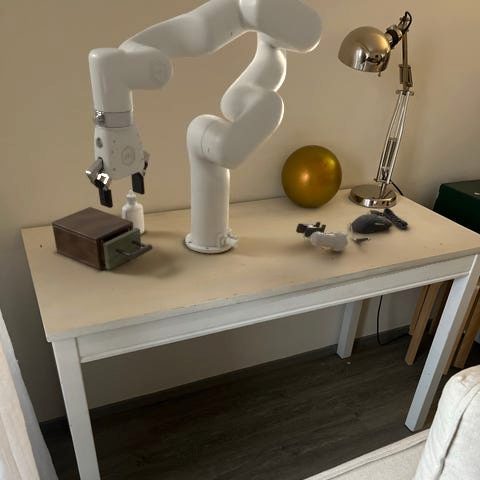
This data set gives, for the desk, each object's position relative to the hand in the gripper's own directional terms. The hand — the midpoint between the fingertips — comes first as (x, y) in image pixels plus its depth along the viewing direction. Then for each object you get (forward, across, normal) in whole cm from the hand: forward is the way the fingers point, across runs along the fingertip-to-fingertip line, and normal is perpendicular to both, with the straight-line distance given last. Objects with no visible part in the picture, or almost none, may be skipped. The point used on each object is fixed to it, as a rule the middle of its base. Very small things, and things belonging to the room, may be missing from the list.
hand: (123, 199), depth 111 cm
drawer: (+16, 0, +5) cm, 16 cm away
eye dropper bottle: (+17, +13, +11) cm, 24 cm away
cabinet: (+16, 0, +11) cm, 20 cm away
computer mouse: (+18, +62, -36) cm, 74 cm away
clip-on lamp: (+17, +42, -33) cm, 56 cm away
